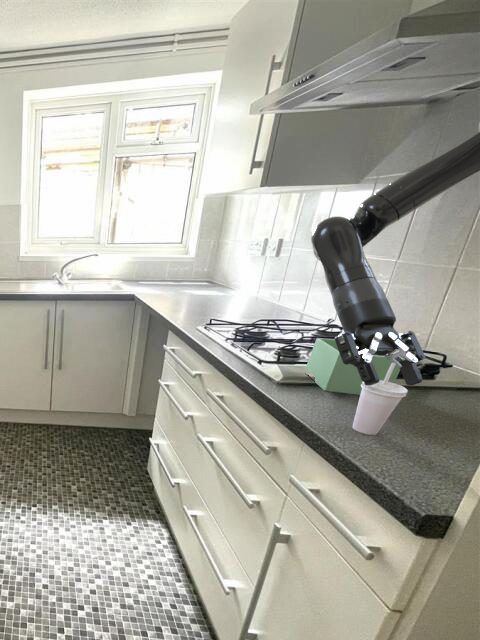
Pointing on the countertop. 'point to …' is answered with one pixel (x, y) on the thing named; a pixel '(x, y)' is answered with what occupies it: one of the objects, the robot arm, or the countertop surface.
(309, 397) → the countertop surface
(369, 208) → the robot arm
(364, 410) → the smoothie
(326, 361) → the bin
